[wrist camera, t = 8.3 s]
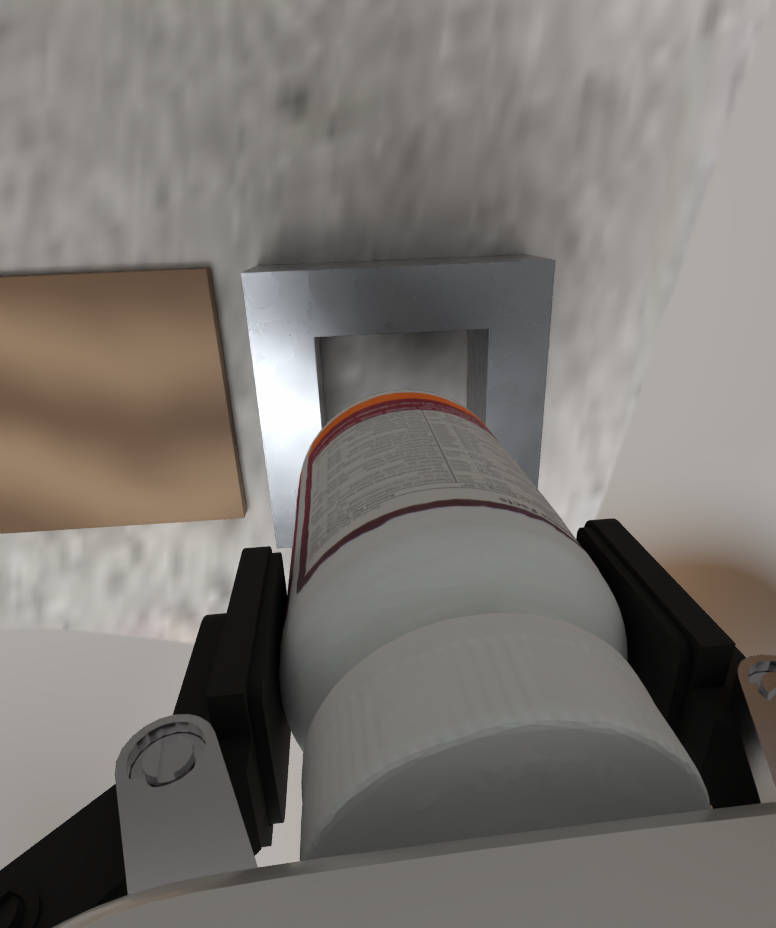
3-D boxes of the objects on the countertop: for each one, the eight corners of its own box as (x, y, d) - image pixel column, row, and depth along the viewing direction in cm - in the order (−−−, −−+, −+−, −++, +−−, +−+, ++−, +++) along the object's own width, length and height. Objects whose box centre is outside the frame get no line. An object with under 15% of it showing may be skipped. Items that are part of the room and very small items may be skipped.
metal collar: (256, 265, 25) (240, 273, 21) (524, 254, 25) (555, 259, 22) (285, 508, 30) (276, 548, 26) (511, 493, 30) (534, 531, 26)
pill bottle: (439, 591, 19) (575, 1038, 9) (266, 526, 17) (178, 983, 7) (537, 435, 17) (865, 772, 7) (353, 345, 15) (410, 608, 5)
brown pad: (-75, 279, 24) (-89, 281, 23) (210, 267, 25) (206, 269, 24) (9, 525, 29) (0, 533, 28) (246, 510, 29) (244, 517, 29)
